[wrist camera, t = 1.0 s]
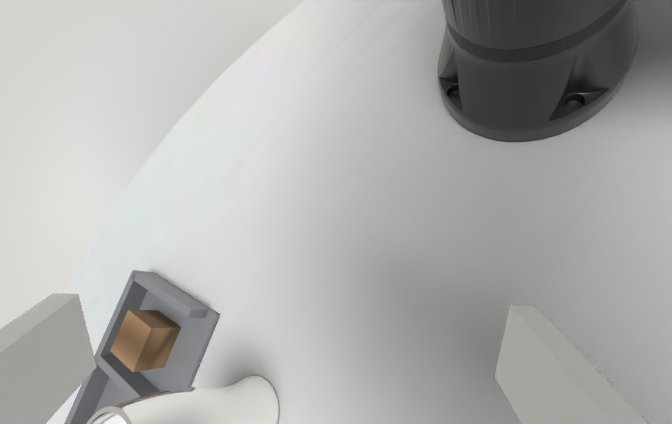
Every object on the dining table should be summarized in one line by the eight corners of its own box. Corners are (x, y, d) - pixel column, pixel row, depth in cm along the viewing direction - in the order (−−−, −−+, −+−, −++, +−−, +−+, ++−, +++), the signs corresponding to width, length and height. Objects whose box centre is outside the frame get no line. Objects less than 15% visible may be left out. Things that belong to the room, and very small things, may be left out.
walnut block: (158, 310, 43) (128, 309, 40) (181, 327, 41) (151, 328, 37) (142, 347, 43) (110, 350, 39) (164, 367, 40) (132, 372, 37)
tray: (153, 272, 46) (132, 270, 44) (220, 314, 39) (200, 314, 37) (80, 439, 44) (54, 446, 41) (137, 515, 37) (110, 530, 34)
